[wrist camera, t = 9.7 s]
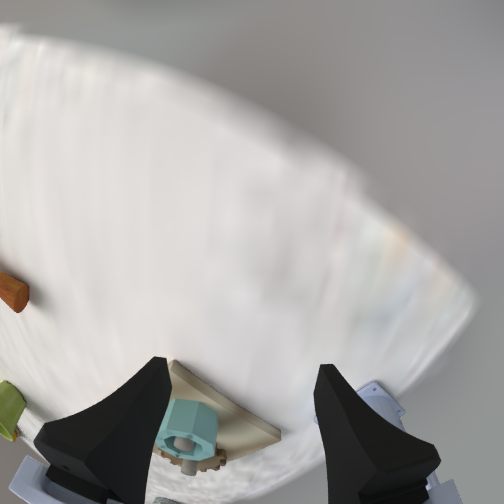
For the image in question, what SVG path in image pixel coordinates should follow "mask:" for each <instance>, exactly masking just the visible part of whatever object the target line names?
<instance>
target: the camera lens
mask: <svg viewBox="0 0 504 504" xmlns="http://www.w3.org/2000/svg"><path fill="white" fill-rule="evenodd" d="M153 504H179V503H177V502H175V501H173V500H170V499H166V498H160V497H157V498H155V500H154V502H153Z"/></svg>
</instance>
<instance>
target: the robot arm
mask: <svg viewBox="0 0 504 504" xmlns="http://www.w3.org/2000/svg"><path fill="white" fill-rule="evenodd" d="M171 392H172V383H171V379H170V374H169V369H168V364H167V359H166V358H162V357H155V356H154V357H153V358H152V359H151V360H150V361H149V362H148V363H147V364H146V365H145V366H144V367H143V368H141V369H140V370H139V371H138V372H137V373H136V374H135V375H134V376H133V377H132V378H130V379H129V380H128V381H127V382H126V383H125V384H124V385H122V386H121V387H120V388H118V389H117V390H116V391H115V392H113V393H112V394H111V395H109V396H108V397H106V398H105V399H103V400H102V401H100V402H98V403H97V404H95V405H93V406H91V407H89V408H87V409H85V410H83V411H81V412H79V413H76V414H74V415H71V416H68V417H66V418H63V419H59V420H55V421H52V422H48V423H45V424H44V425H43V427H42V428H41V430H40V431H39V433H38V434H37V436H36V438H35V439H34V442H33V443H34V445H35V447H36V448H37V450H38V451H39V452H40V453H41V454H42V455H43V456H44V458H45V459H46V460H47V461H48V462H49V463H50V464H51V465H50V467H49V468H48V467H46V466H45V465H43V464H42V463H40V462H38V461H36V460H35V459H33V458H32V457H30V456H28V455H26V457H25V459H24V460H23V462H22V464H21V466H20V467H19V469H18V471H17V473H16V475H15V476H14V478H13V480H12V482H11V484H10V486H9V489H10V490H11V491H12V492H14V493H15V494H16V495H18V496H19V497H20V498H22V499H23V500H24V501H26V502H27V503H28V504H144V503H145V492H146V484H147V477H148V471H149V466H150V460H151V456H152V451H153V447H154V443H155V440H156V437H157V435H158V432H159V429H160V426H161V424H162V421H163V418H164V416H165V413H166V410H167V408H168V405H169V401H170V396H171ZM313 394H314V404H315V412H316V417H315V418H314V422H315V423H316V424H318V425H319V429H320V433H321V437H322V441H323V445H324V450H325V457H326V466H327V479H328V504H463V503H462V500H461V498H460V495H459V493H458V490H457V488H456V486H455V483H454V481H453V480H452V479H450V480H448V481H446V482H444V483H442V484H440V483H439V481H438V478H437V476H436V474H435V471H434V470H435V469H436V468H437V467H438V466H439V464H440V462H441V459H440V457H439V454H438V452H437V450H436V448H435V446H434V445H433V444H430V443H428V442H425V441H422V440H420V439H418V438H416V437H414V436H412V435H410V434H408V433H406V432H405V429H404V427H403V425H402V422H401V420H400V418H399V417H401V416H402V415H403V414H405V410H404V409H403V408H402V407H401V406H400V405H399V404H398V403H397V402H396V401H395V400H394V399H393V398H392V397H391V396H390V395H389V394H388V393H387V392H386V391H385V390H384V389H383V388H382V387H381V386H380V385H379V384H378V383H377V382H371V383H370V384H368V385H367V386H365V387H364V388H362V389H361V390H359V391H358V392H355V390H354V389H353V388H352V387H351V386H350V385H349V383H348V382H347V381H346V380H345V379H344V377H343V376H342V375H341V373H340V372H339V371H338V370H337V368H336V367H335V366H334V365H333V364H321V365H320V368H319V373H318V377H317V381H316V385H315V389H314V393H313Z"/></svg>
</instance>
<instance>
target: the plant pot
mask: <svg viewBox="0 0 504 504" xmlns="http://www.w3.org/2000/svg"><path fill="white" fill-rule="evenodd" d="M25 407H26V402H25V401H24V400H23V397H22V395H21V394H20V392H18V390H17V389H16V388H15V387H14V386H13V385H12V384H9V383H7V382H6V381H3V382H1V383H0V434H1V435H2V436H4V437H5V438H6V439H8V440H10V441H13V434H14V429H15V427H16V425H17V423H18V421H19V419H20V416H21V414H22V413H23V411H24V409H25Z"/></svg>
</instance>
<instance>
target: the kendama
mask: <svg viewBox="0 0 504 504" xmlns="http://www.w3.org/2000/svg"><path fill="white" fill-rule="evenodd" d="M0 298H1V299H2V300H3V301H4V302H5V303H6V304H7V305H8V306H9V307H10V308H11V309H12V310H14V311H15V312H16V313H20V312H21V311H22V310H23V309H24V308H25V307H26V305H27V303H28V300H29V286H28V285H26V284H24V283H22V282H20V281H18V280H16V279H14V278H12V277H11V276H9V275H7V274H5V273H3V272H1V271H0Z"/></svg>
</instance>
